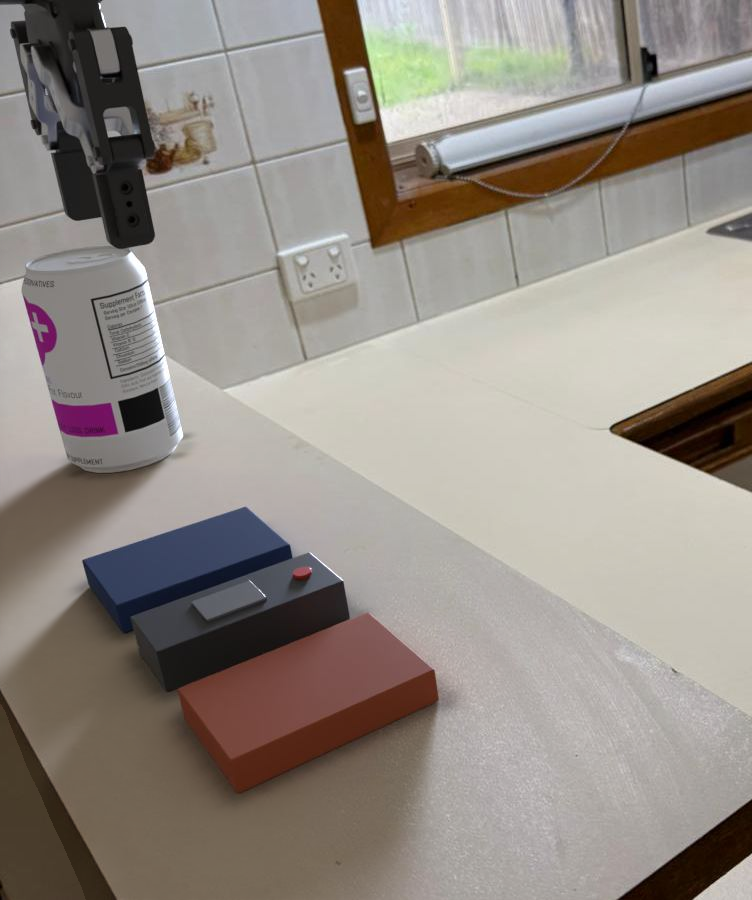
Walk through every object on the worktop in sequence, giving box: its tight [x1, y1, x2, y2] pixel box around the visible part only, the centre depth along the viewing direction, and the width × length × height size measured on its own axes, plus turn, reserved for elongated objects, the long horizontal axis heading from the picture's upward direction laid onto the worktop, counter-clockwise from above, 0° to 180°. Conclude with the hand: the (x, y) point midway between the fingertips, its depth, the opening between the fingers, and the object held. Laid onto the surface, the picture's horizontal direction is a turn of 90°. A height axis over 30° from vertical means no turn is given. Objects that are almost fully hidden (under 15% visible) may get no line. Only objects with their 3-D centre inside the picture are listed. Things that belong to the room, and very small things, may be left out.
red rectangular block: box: [177, 612, 440, 794], centre depth 54 cm, size 7×10×2 cm
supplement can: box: [21, 244, 184, 474], centre depth 83 cm, size 8×8×15 cm
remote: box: [130, 551, 351, 693], centre depth 60 cm, size 10×4×3 cm, turn 127°
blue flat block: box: [81, 506, 294, 634], centre depth 67 cm, size 7×10×2 cm
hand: (109, 231), depth 61 cm, fingers open, 8 cm apart
